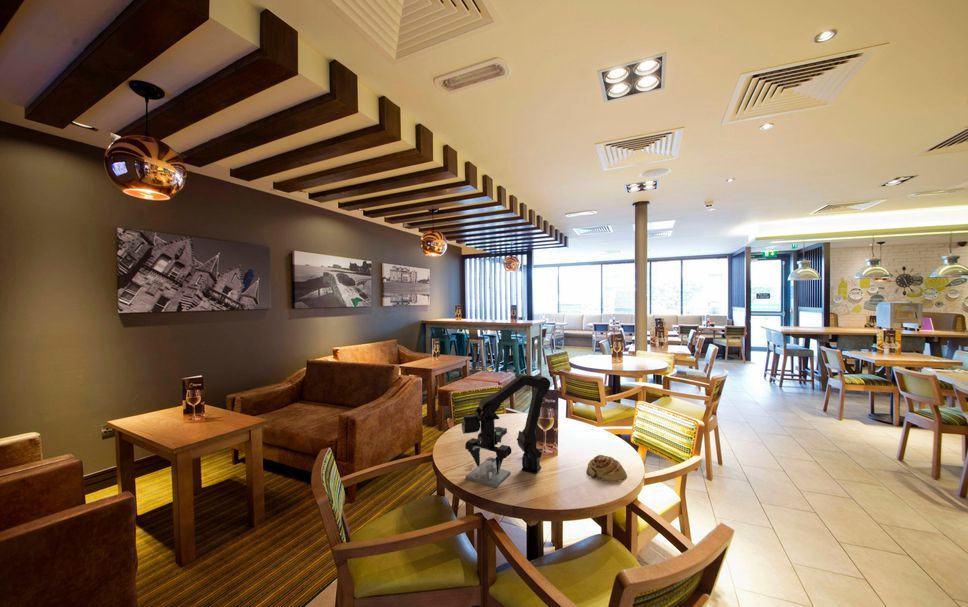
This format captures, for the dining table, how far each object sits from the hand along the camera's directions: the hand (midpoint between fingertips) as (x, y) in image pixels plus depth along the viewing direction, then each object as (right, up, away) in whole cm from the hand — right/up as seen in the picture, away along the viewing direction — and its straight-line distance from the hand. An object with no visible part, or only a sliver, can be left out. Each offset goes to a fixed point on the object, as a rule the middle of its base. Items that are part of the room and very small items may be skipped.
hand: (488, 468), depth 138 cm
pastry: (+48, -3, +1) cm, 48 cm away
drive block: (0, -2, 0) cm, 2 cm away
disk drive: (+3, -4, +43) cm, 43 cm away
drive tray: (0, -3, 0) cm, 3 cm away
